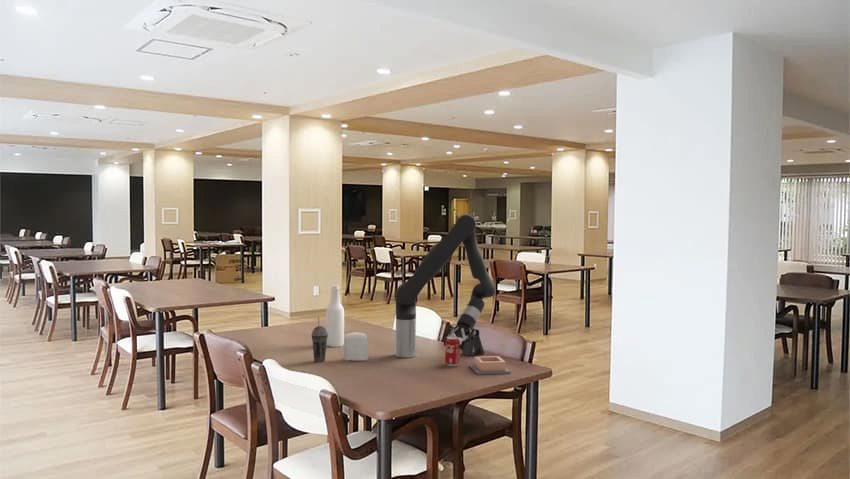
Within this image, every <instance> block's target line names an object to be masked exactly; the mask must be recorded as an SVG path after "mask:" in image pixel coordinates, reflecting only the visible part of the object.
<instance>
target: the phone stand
mask: <svg viewBox="0 0 850 479" xmlns="http://www.w3.org/2000/svg"><path fill="white" fill-rule="evenodd" d="M473 329H474V330H475V331H476V335H475V337H474V339H473V342H472V343H468V344H466V346H465V348H464V349H463V350H461V354H462V355H464V356H467V357H473V356H474V355H476V356H482V355H481V354H484V355H485V350H484V347H483V345H482V340H481V337H480V330H479V329H476V328H473ZM469 335H470V334H468V335H467V336H468V337H469ZM474 357H475V356H474Z"/></svg>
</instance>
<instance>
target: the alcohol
mask: <svg viewBox="0 0 850 479" xmlns="http://www.w3.org/2000/svg"><path fill="white" fill-rule="evenodd" d="M330 287H331V288H330V289H331V293H330V302H329V305H328V306H326V310H325V312H326V313H325V314H326V316H325V317H326V318H325V319H326V320H325V323H326V324H325V329H326V330H327V333H328V337H327V343H326V347H328V346H330V347H329V348H339V347H338V346H341V347H343V346H345V308H344V306H343V305H342V303H341V298H340V297H341V295H340V285H339V284H332V285H331V286H330Z"/></svg>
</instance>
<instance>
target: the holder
mask: <svg viewBox="0 0 850 479" xmlns="http://www.w3.org/2000/svg"><path fill="white" fill-rule="evenodd" d="M506 362H507V361H505V360H504V359H503V358H502V357H501V356H499V355H490V356H489V355H488V356H487V355H486V356H483V355H482V356H474V363H469V367H470V368H471V370H473V371H474V373H475V374H476V375H479V376H480V375H504V374H505V375H507V374H508V375H509V374H510V375H511V374H512V372H511V370H510V369H509V368H507V366H506Z"/></svg>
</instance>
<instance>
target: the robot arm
mask: <svg viewBox="0 0 850 479" xmlns="http://www.w3.org/2000/svg"><path fill="white" fill-rule="evenodd" d="M476 228H477V220H476V219H475V217H474V216H472V215H470V214H462V215H460V216H459V217H458V218H457V219H456V221H455V223H454V225H453V226H452V227H451V229H450V230H449V232H448V233H447V234H446V235H445V236H444V237H443V238H442V239H441V240H439V241H438V242H437V243H436V245H435V246H433V247H432V248H431V249H430V250H429V252H428V253H427V254H426V255H425V257H424V258H423V259H422V260H421V262H420V264H419V265H418V267H417V268H416V270H415V272H414V273H413V274H412V275H411V277H409V278H408V280H407V281H406V282H404V283H401V284H400V285H399V286H398V287H397V289H396V291H395V333H394V356H395V357H396V358H408V359H409V358H414V357H415V356H416V351H417V350H416V349H417V348H416V342H417V341H416V340H417V339H416V337H417V335H416V334H417V333H416V332H417V330H416V329H417V327H416V326H417V308H416V306H417V304H416V303H417V302H416V301H417V299H416V298H417V297H418V295H419V294H420V293H421V292H422V290H423V289H424V287H425V286H426V285H427V284H428V283H429V282H430V281H431V280H432V279H433V278H434V277H435V276H436V275H437V274H438V273H439V272H440V271H441V269H442V268H443V267H444V266H445V265H446V264H447V263H448V261H449V260H450V259H451V258H452V256H453V255H454V253H455V252H456V250H457V249H458V247H459V246H460V245H461V244H463V247H464V250H465V253H466V257H467V261H468V265H469V269H470V272H471V276H472V278H473V279H475V280H478V281H479V282H478V283H476V284H475V285H474V287H473V288H472V292H471V294H470V295H471V296H470V299H469V301H468V303H467V305H466V307H465V308H464V309H463V311H462V313H461V314H460V317H459V318H458V319H457V323H456V325H455V326H452V324H451V325H449V326H448V328H447V329H446V331H445V332H444V334H443V336H444V337H445V340H444V341H443V346H444V347H445V341H446V339H447V337H458V339H459V338H461V339H463V340H462V341H461V342H460V346H459V349H460V351H462V350H463V349H464V348H465V346H466V344H468V343H472V342H473V339H474V337H475V335H476V331H475V330H474V329H475V328H474V327H475V326H476V324H477V322H478V321H479V318H480V315H481V313H482V311H483V309H484V307H485V306H486V305H485V304H486V303H485V301H484V299H486V298H487V299H488V298H492V297H493V296H495V294H496V293H495V292H496V287H495V286H496V285H495V283H494V281H493V279H492V278H491V276H490V274H489V273H488V271H487V267H486V263H485V260H484V257H483V255H482V252H481V250H480V247H479V244H478V241H477V237H476ZM473 328H474V329H473ZM468 334H470V335H469V337H468V336H467V335H468Z"/></svg>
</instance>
